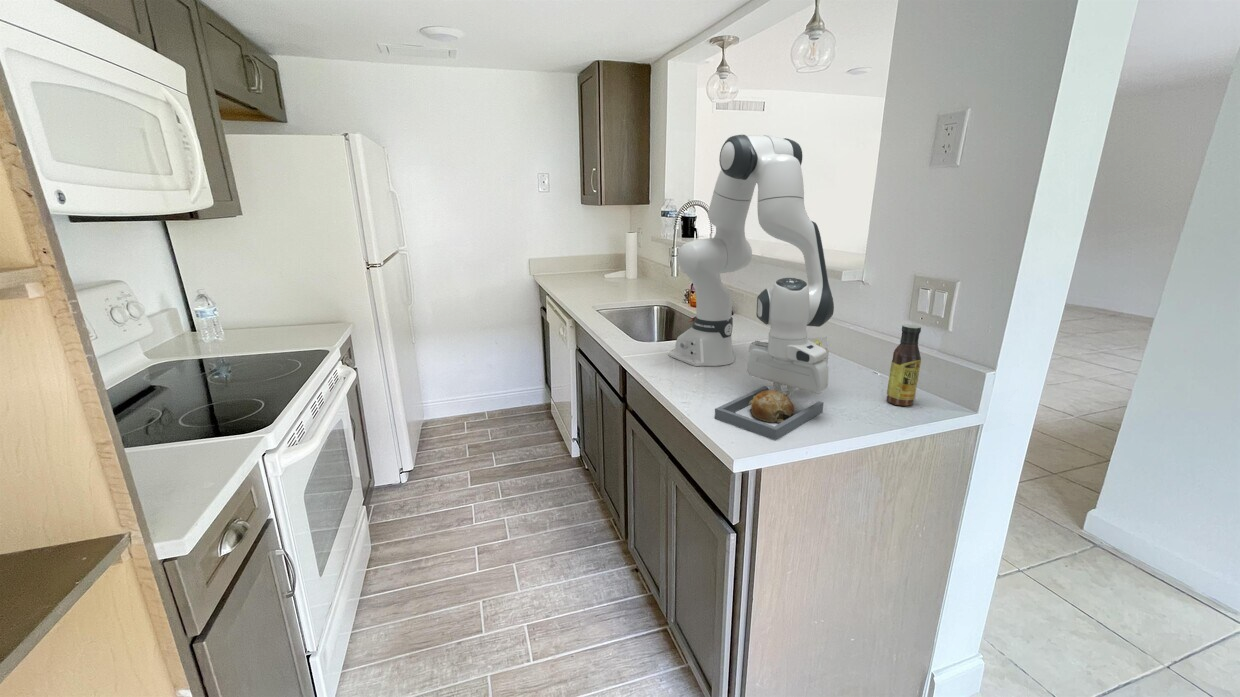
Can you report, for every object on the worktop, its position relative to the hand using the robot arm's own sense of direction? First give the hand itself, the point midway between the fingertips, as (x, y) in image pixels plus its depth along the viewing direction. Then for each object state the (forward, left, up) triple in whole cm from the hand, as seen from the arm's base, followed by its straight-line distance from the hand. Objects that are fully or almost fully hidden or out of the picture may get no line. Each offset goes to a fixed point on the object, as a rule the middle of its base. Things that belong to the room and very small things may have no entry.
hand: (783, 400), depth 126 cm
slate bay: (0, -5, -2) cm, 6 cm away
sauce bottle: (+19, +24, -2) cm, 30 cm away
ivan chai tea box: (-9, +33, -2) cm, 34 cm away
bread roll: (0, -6, -2) cm, 6 cm away
